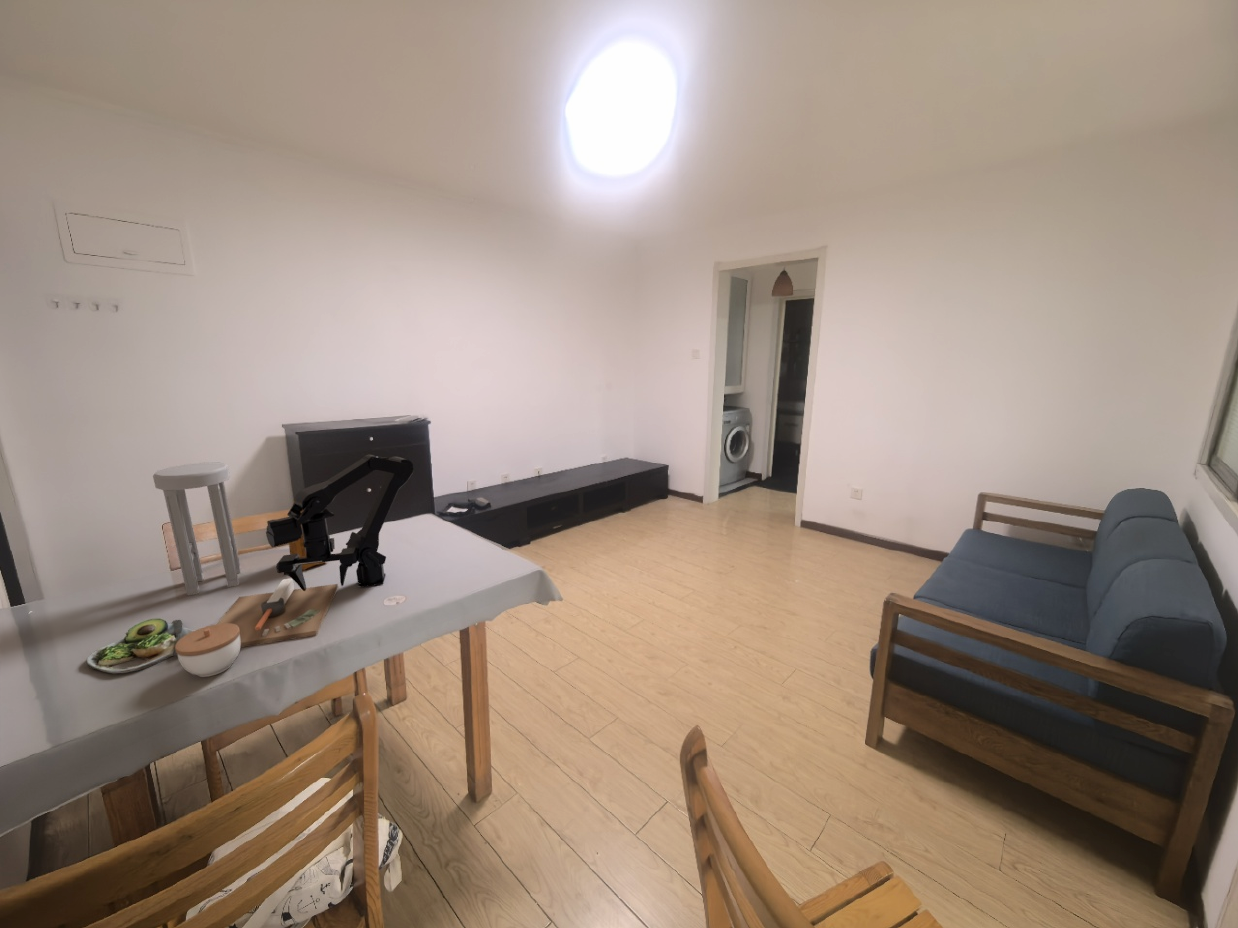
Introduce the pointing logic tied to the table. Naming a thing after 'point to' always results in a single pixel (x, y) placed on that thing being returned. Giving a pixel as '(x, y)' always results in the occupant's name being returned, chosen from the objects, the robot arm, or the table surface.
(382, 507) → the robot arm
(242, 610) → the cutting board
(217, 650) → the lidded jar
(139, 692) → the table surface
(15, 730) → the table surface
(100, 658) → the salad plate
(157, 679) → the table surface
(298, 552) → the coffee package
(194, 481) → the stool
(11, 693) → the table surface
